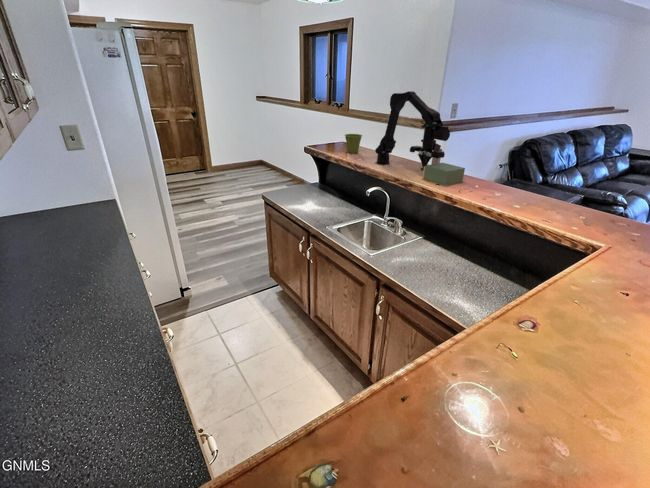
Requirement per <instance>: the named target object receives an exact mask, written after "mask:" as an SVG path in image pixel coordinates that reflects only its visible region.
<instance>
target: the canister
mask: <svg viewBox="0 0 650 488" xmlns="http://www.w3.org/2000/svg"><path fill="white" fill-rule="evenodd" d="M439 151H443V149H442V148H440V150H439ZM441 159H442V158H433V157H432V158H431V164H430V165H432V164H437V163H441Z"/></svg>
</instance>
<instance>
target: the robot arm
mask: <svg viewBox="0 0 650 488" xmlns="http://www.w3.org/2000/svg"><path fill="white" fill-rule="evenodd" d="M407 102H409V103H410V105H412V106H413V107H414V108H415V110H416V111H417V112H418V113H419V114H420V115H421V119H422V121H423V122H424V123H423V125H421V126H420V128H423V136H422V139H421V140H420V143H421V142H422V144H421V145H411V146H410V148H409V152H410V153H415V152H418V153H417V156H418V158H419V160H420V163H421V166H422V168H423V167H425V166H426V165H429V162H430V160H432V157H433V158H441V159H443V158H445V154H446V153H445V151H443V150H442V151H439V150H440V149H442V145H440V144H438V143H437V141H442V142H447V141H448V140H449V139H450V136H451V131H450V129H449V126H448V125H445V126H444V123H443V121H442V118H441V113H440V112H439V111H437V110H436V109H434V108H432V107H429V105H428V104H427V103H425V101H424V100H423V99H421V97H420V96H419V95H418V94H417V93H416V91H412V90H411V91H406V92H394V93H392V94H391V95H390V99H389V108H390V112H389V117H388V121H387V125H386V129H385V133H384V135H383V137H381V139H380V142H379V143H378V144H379V145H377V147H376V148H375V154H377V155H376V156H377V158H376V161H375V162H374V163H375V164H376V165H377V164H378V165H381V166H382V165H383V166H386V165H389V164H390V154H391V153H393V150H394V149H395V148H396V143H397V140H395V137H394V136H395V133H396V128H397V126H398V125H397V124H398V121H399V117H400V113H401V111H402V110H403V108H404V107H405V105H406V103H407Z"/></svg>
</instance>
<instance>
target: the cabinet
mask: <svg viewBox="0 0 650 488" xmlns="http://www.w3.org/2000/svg"><path fill="white" fill-rule="evenodd" d="M465 170H466V167H462V166H458V165H454V164H450V163H446V162H440V163H437V164H432V165H431V164H427V165H426V166H425V172H424V177H423V181H427V182H431V183H434V184H438V185H440V186H444V187H446V186H451V185H456V184H460V183H463V180H464V175H465Z"/></svg>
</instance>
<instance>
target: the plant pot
mask: <svg viewBox="0 0 650 488" xmlns="http://www.w3.org/2000/svg"><path fill="white" fill-rule="evenodd" d="M344 137H345V138H344V139H345V142H346V143H345V144H346V152H347V153H349V154H357V153H359V149H360V145H361V140H362V137H363V134H359V133H345V134H344Z"/></svg>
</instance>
